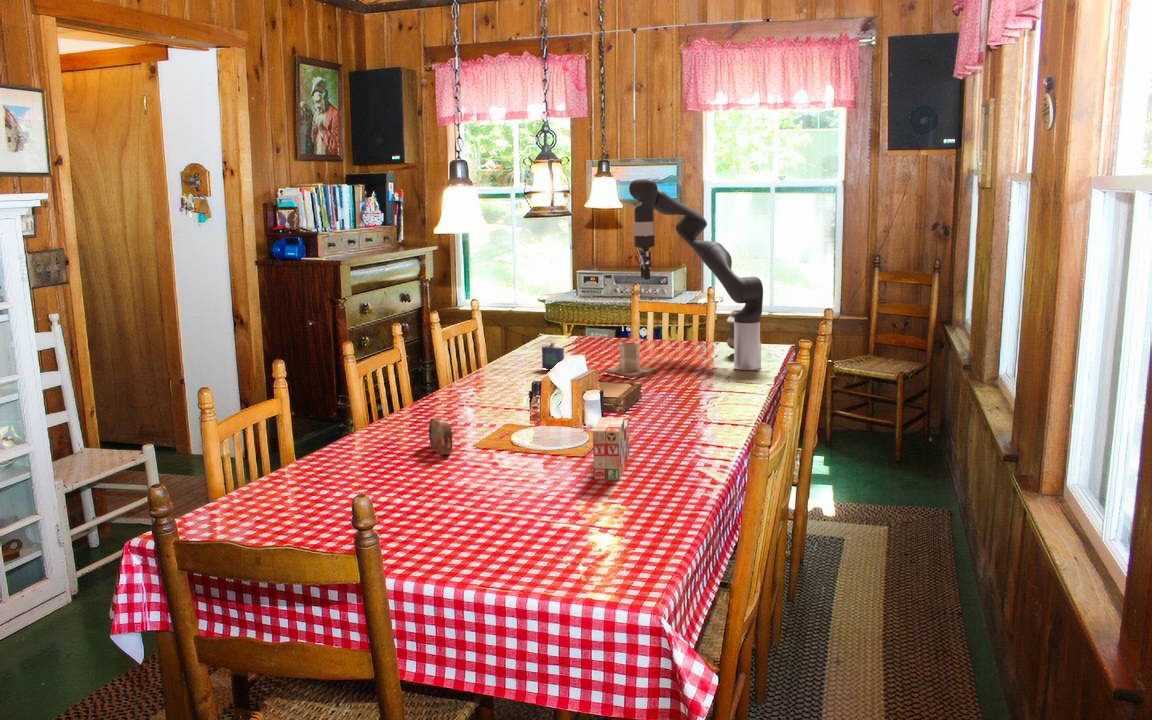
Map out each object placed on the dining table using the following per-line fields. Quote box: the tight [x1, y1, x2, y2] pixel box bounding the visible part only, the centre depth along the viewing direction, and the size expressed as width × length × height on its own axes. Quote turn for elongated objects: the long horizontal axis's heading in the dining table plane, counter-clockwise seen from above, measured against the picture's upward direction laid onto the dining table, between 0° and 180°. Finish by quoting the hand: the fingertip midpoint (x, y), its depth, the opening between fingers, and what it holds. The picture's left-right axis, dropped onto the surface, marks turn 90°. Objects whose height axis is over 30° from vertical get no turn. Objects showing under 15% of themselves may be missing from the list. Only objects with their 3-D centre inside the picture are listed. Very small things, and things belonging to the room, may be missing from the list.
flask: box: [541, 341, 565, 370], centre depth 346 cm, size 9×3×11 cm, turn 61°
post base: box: [601, 366, 658, 378], centre depth 336 cm, size 14×14×10 cm
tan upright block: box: [618, 341, 641, 372], centre depth 336 cm, size 5×6×10 cm
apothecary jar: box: [726, 309, 741, 358], centre depth 362 cm, size 12×12×18 cm
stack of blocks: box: [592, 416, 630, 481], centre depth 229 cm, size 21×6×12 cm, turn 171°
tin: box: [428, 417, 453, 456], centre depth 247 cm, size 15×3×8 cm, turn 23°
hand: (645, 278), depth 347 cm, fingers open, 8 cm apart
